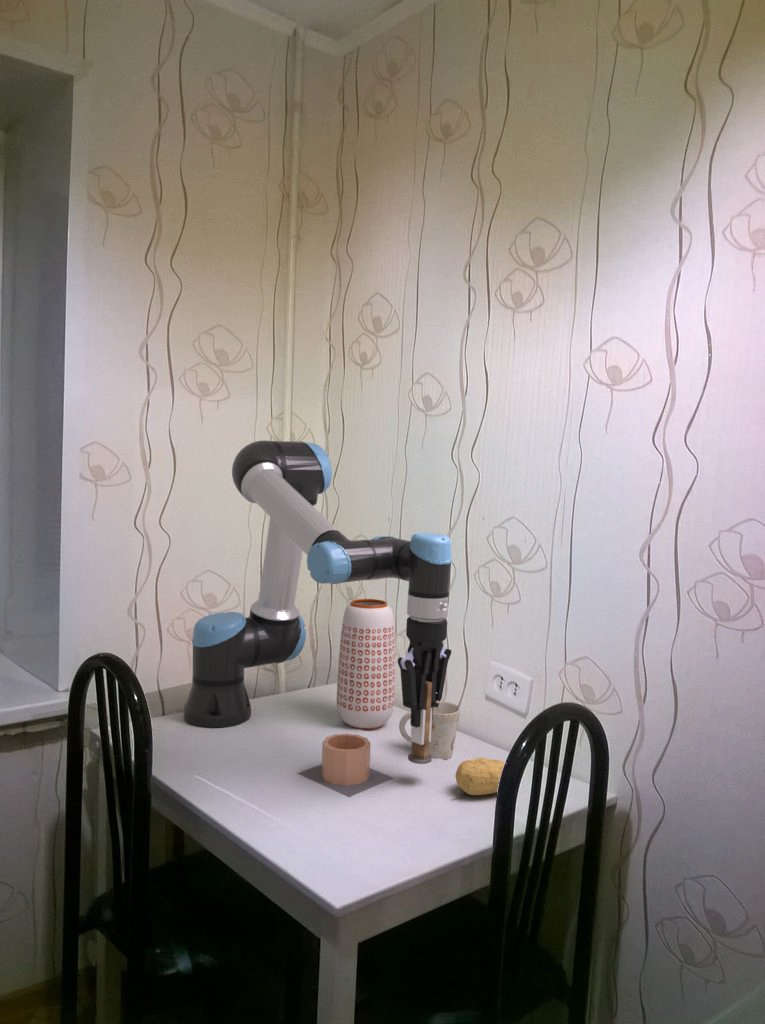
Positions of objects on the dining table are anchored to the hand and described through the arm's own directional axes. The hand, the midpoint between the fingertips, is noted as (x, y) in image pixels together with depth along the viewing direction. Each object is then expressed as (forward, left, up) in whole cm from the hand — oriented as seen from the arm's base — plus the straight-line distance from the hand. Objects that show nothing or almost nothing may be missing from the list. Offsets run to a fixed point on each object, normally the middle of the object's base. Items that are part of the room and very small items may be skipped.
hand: (420, 740), depth 145 cm
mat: (-11, -8, -8) cm, 16 cm away
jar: (-11, -8, -8) cm, 16 cm away
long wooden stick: (0, 0, -4) cm, 4 cm away
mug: (-8, +13, -9) cm, 18 cm away
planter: (-29, +16, -9) cm, 35 cm away
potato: (+11, +6, -9) cm, 15 cm away
